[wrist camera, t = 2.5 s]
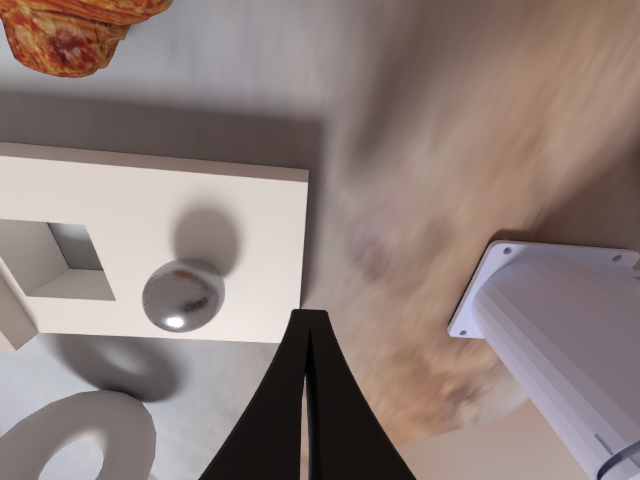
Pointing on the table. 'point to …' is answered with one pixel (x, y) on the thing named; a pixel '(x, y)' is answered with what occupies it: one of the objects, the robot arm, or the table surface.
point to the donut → (83, 436)
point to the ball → (183, 295)
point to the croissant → (71, 31)
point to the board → (145, 241)
